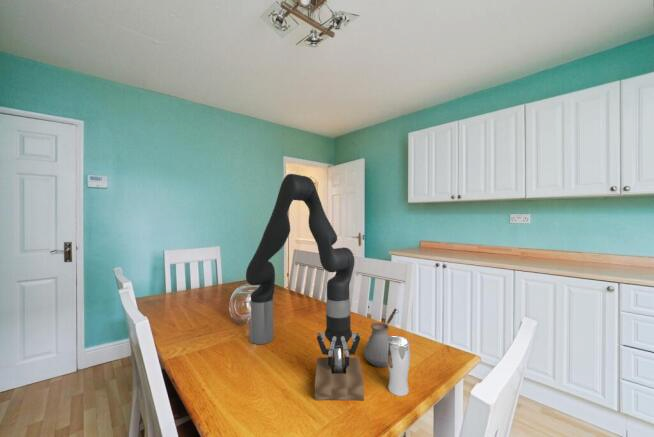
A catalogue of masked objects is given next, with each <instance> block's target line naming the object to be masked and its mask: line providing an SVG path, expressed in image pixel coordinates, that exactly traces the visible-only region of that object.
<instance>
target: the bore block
mask: <svg viewBox="0 0 654 437" xmlns="http://www.w3.org/2000/svg"><path fill="white" fill-rule="evenodd" d="M316 359H317V360H316V362H317V363H316V368H315V369H316V370H315V378H314V379H315V380H314V401H365V388H364V387H365V386H364V384H365V382H364V378H363V377H364V376H363V372H362V365H361V361H360V357H349V366H347V368H345V358H344V357H343V368H344V374H333V368H330V366H328V357H317V358H316ZM332 359H333V357H332Z"/></svg>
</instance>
